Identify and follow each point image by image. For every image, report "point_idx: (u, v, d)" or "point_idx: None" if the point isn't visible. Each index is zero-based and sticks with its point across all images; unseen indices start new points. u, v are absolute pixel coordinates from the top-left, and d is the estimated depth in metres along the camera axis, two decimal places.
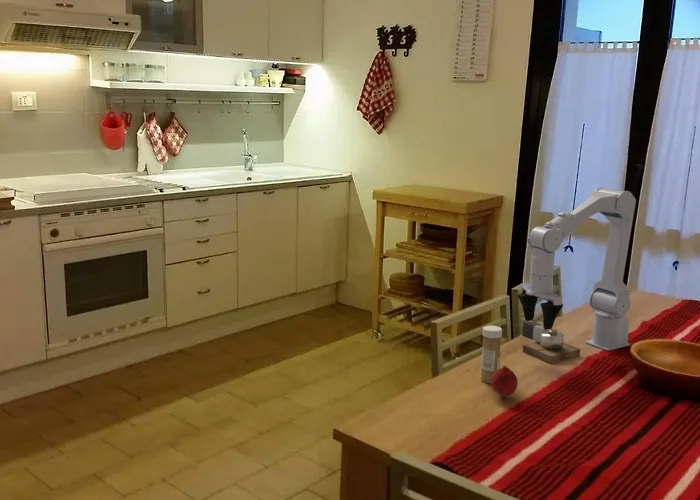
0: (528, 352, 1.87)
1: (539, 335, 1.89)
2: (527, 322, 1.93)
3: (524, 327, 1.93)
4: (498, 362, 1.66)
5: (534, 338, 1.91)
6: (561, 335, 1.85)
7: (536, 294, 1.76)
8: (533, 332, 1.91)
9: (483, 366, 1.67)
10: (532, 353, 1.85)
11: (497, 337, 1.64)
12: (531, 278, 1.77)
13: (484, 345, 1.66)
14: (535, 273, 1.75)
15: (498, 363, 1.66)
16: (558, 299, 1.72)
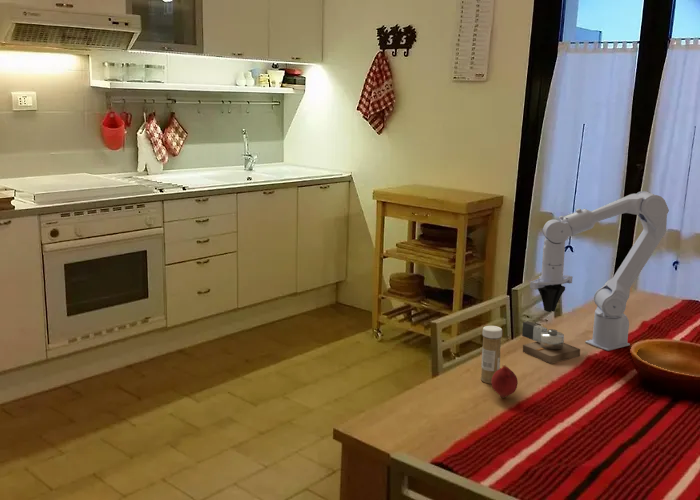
0: (528, 352, 1.87)
1: (539, 335, 1.89)
2: (527, 322, 1.93)
3: (524, 327, 1.93)
4: (498, 362, 1.66)
5: (534, 338, 1.91)
6: (561, 335, 1.85)
7: None
8: (533, 332, 1.91)
9: (483, 366, 1.67)
10: (532, 353, 1.85)
11: (497, 337, 1.64)
12: None
13: (484, 345, 1.66)
14: (543, 261, 1.91)
15: (498, 363, 1.66)
16: (532, 283, 1.89)
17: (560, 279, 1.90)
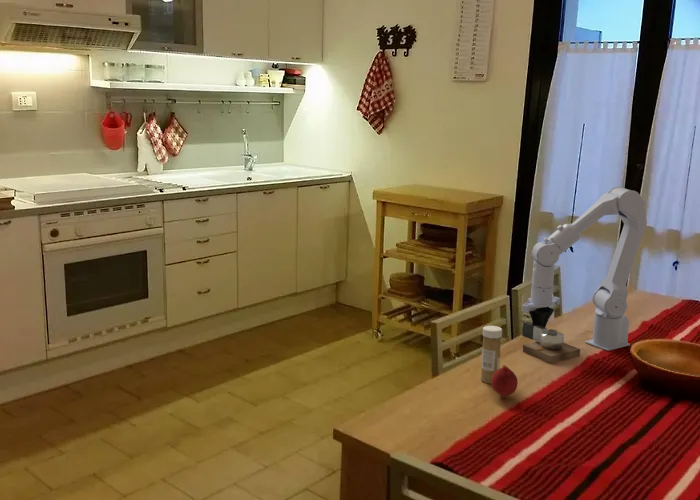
0: (528, 352, 1.87)
1: (539, 335, 1.89)
2: (527, 322, 1.93)
3: (524, 327, 1.93)
4: (498, 362, 1.66)
5: (534, 338, 1.91)
6: (561, 335, 1.85)
7: None
8: (533, 332, 1.91)
9: (483, 366, 1.67)
10: (532, 353, 1.85)
11: (497, 337, 1.64)
12: None
13: (484, 345, 1.66)
14: (533, 284, 1.90)
15: (498, 363, 1.66)
16: (523, 306, 1.88)
17: (550, 301, 1.90)
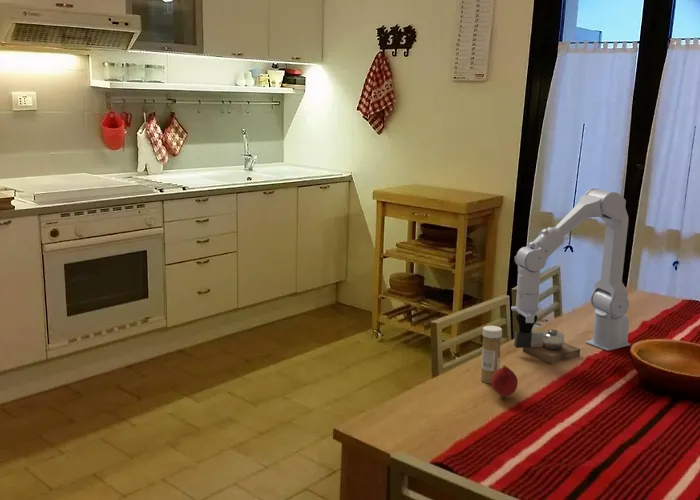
0: (528, 352, 1.87)
1: (539, 340, 1.85)
2: (519, 332, 1.85)
3: (519, 338, 1.84)
4: (498, 362, 1.66)
5: (533, 345, 1.85)
6: (557, 332, 1.87)
7: (517, 310, 1.84)
8: (531, 339, 1.85)
9: (483, 366, 1.67)
10: (532, 353, 1.85)
11: (497, 337, 1.64)
12: None
13: (484, 345, 1.66)
14: (519, 291, 1.83)
15: (498, 363, 1.66)
16: (529, 317, 1.79)
17: None
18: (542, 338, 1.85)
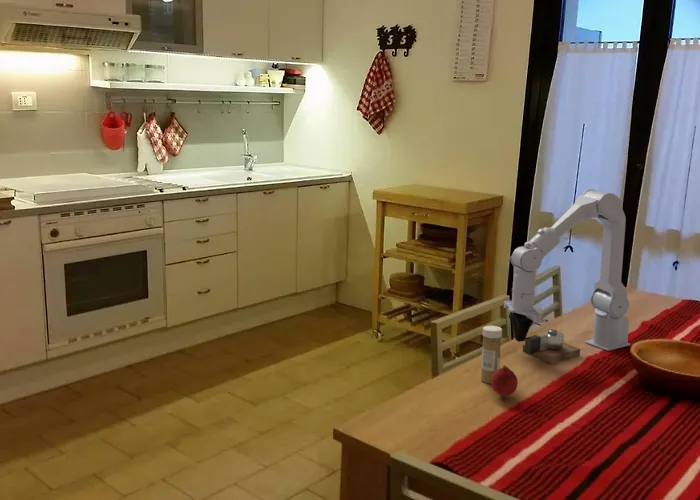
0: None
1: (546, 342, 1.83)
2: (530, 338, 1.80)
3: (532, 344, 1.80)
4: (498, 362, 1.66)
5: (541, 348, 1.83)
6: None
7: (517, 311, 1.83)
8: (540, 343, 1.82)
9: (483, 366, 1.67)
10: None
11: (497, 337, 1.64)
12: (513, 296, 1.84)
13: (484, 345, 1.66)
14: (515, 291, 1.83)
15: (498, 363, 1.66)
16: (538, 317, 1.79)
17: None
18: (547, 340, 1.84)
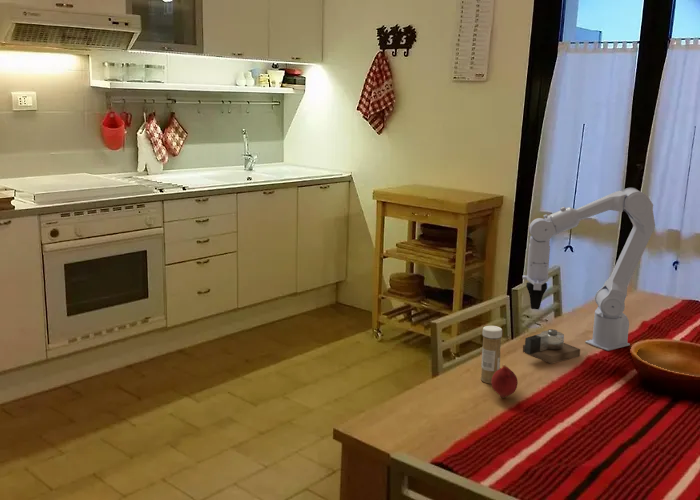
0: None
1: (546, 342, 1.83)
2: (530, 338, 1.80)
3: (532, 344, 1.80)
4: (498, 362, 1.66)
5: (541, 348, 1.83)
6: None
7: (527, 279, 1.93)
8: (540, 343, 1.82)
9: (483, 366, 1.67)
10: None
11: (497, 337, 1.64)
12: None
13: (484, 345, 1.66)
14: (528, 259, 1.93)
15: (498, 363, 1.66)
16: (536, 284, 1.87)
17: None
18: (547, 340, 1.84)
